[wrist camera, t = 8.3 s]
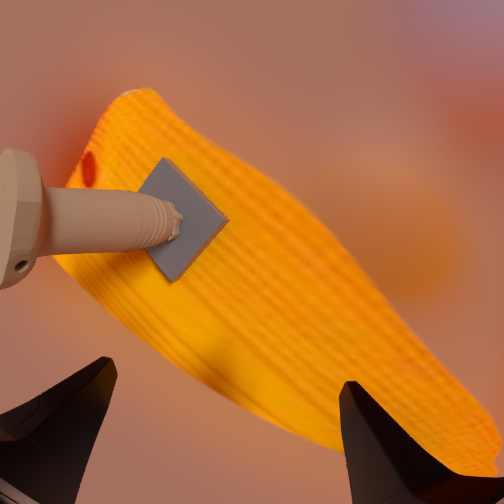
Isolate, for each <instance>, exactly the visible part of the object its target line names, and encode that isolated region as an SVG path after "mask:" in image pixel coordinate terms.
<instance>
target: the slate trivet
mask: <svg viewBox="0 0 504 504" xmlns="http://www.w3.org/2000/svg"><path fill="white" fill-rule="evenodd" d="M137 193H142V194H146V195H149V196H153V197H155V198H158V199H160V200H162V201H164V200H165V201H169V202H171V203H173V204H174V205H175V208H176V210H177V211H178V212H179V213H181V214H182V216H183V220H182V221H181V223H180V226H179V235H178V236H177V237H176V238H175V239H172V240H169V241H168V240H165V241H164V242H162V243H160V244H157V245H154V246H151V247H147V248H144V249H145V250H146V252H147V253H148V254H149V255H150V257H151V258H152V259H153V260H154V262H155V263H156V264H157V265H158V267H159V268H160V269H161V270H162V271H163V273H164V274H165V275H166V276H167V277H168V279H169V280H170V281H171V282H173V281H176V280H179V279H180V277H181V276H182V275H183V274H184V273H185V271H186V270H187V269H188V268H189V267H190V266H191V264H192V263H193V262H194V261H195V260H196V259H197V257H198V256H199V255H200V254H201V253H202V252H203V250H204V249H205V248H206V247H207V246H208V245H209V243H210V242H211V241H212V240H213V239H214V238H215V237H216V235H217V234H218V233H219V232H220V231H221V230H222V229H223V228H224V226H225V225H226V224H227V223H228V222H229V221H230V220H229V219H228V218H227V217H226V216H225V215H224V214H223V213H222V212H221V211H220V210H219V209H218V208H217V207H216V206H215V205H214V204H213V203H212V202H211V201H210V200H209V199H208V198H207V197H206V196H205V195H204V194H203V193H202V192H201V191H200V190H199V189H198V188H197V187H196V185H195V184H194V183H193V182H192V181H191V180H190V179H189V178H188V177H187V176H186V175H185V174H184V173H183V172H182V171H181V170H180V169H179V168H178V167H177V166H176V165H175V164H174V163H173V162H172V161H171V160H169V159H166V158H163V157H162V159H161V160H160V161H159V163H158V164H157V165H156V167H155V168H154V169H153V171H152V172H151V173H150V175H149V176H148V178H147V179H146V180H145V182H144V183H143V185H142V186H141V188H140V189H139V191H138V192H137Z"/></svg>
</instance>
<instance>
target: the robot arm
mask: <svg viewBox="0 0 504 504" xmlns="http://www.w3.org/2000/svg"><path fill="white" fill-rule="evenodd" d="M116 379H117V370H116V367H115V364H114V362H113V360H112V358H109V357H105V356H103V357H100V358H99V359H98V360H96V361H94V362H92V363H91V364H89V365H87V366H86V367H84V368H83V369H81V370H79V371H78V372H76V373H74V374H73V375H71V376H69V377H68V378H66V379H65V380H63V381H61V382H60V383H58V384H56V385H55V386H53V387H52V388H50V389H48V390H47V391H45V392H43V393H42V394H41V395H38V396H37V397H35V398H33V399H31V400H30V401H28V402H26V403H24V404H22V405H20V406H18V407H16V408H14V409H11V410H9V411H7V412H5V413H3V414H0V504H75V501H76V497H77V494H78V491H79V488H80V483H81V481H82V477H83V475H84V472H85V468H86V465H87V463H88V460H89V457H90V454H91V451H92V448H93V446H94V443H95V440H96V438H97V435H98V432H99V430H100V427H101V425H102V422H103V420H104V417H105V415H106V412H107V410H108V406H109V404H110V400H111V397H112V393H113V390H114V386H115V383H116ZM339 406H340V421H341V434H342V440H343V445H344V451H345V457H346V463H347V469H348V475H349V481H350V488H351V495H352V503H353V504H504V477H499V478H495V477H476V476H465V475H460V474H457V473H455V472H453V471H451V470H450V469H449V468H447V467H446V466H445V465H443V464H442V463H441V462H439V461H438V460H437V459H435V458H434V457H433V456H431V455H430V454H429V453H428V452H427V451H425V450H424V449H423V448H422V447H421V446H420V445H419V444H418V443H417V442H416V441H415V440H414V439H413V438H412V437H410V435H409V434H408V433H407V432H406V431H405V430H404V429H403V428H402V427H401V426H400V425H399V424H398V423H397V422H396V421H395V420H394V419H393V418H392V417H391V416H390V415H389V414H388V413H387V412H386V411H385V410H384V409H383V408H382V407H381V406H380V405H379V404H378V403H377V402H376V401H375V400H374V399H373V398H372V397H371V396H370V395H369V394H368V392H367V391H366V390H365V389H364V388H363V387H362V386H361V385H360V384H359V383H358V382H357V381H346V382H345V384H344V386H343V388H342V390H341V393H340V395H339Z"/></svg>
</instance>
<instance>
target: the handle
mask: <svg viewBox="0 0 504 504" xmlns="http://www.w3.org/2000/svg"><path fill="white" fill-rule="evenodd" d="M182 220H183V216H182V214H181V213H179V212H178V211H177V210H176V208H175V205H174V204H173V203H171V202H169V201H165V200H164V201H162V200H160V199H158V198H155V197H153V196H149V195H146V194H142V193H137V192H131V191H121V190H97V189H73V188H51V187H45V186H43V181H42V177H41V173H40V170H39V167H38V164H37V162H36V160H35V158H34V156H33V155H32V154H31V153H29V152H26V151H22V150H17V149H11V148H5V150H4V151H3V153H2V154H1V156H0V290H1V289H5V288H8V287H11V286H13V285H15V284H17V283H18V282H20V281H21V280H22V279H23V278H25V277H26V275H28V273H29V272H30V271H31V270H32V268H33V267H34V265H35V263H36V259H37V257H41V256H48V255H61V254H80V253H104V252H125V251H132V250H138V249H142V248H147V247H151V246H154V245H157V244H160V243H162V242H164V241H165V240H168V241H169V240H172V239H175V238H176V237H177V236H178V235H179V226H180V223H181V221H182Z"/></svg>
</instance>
